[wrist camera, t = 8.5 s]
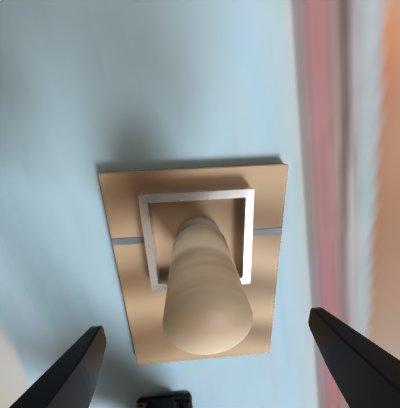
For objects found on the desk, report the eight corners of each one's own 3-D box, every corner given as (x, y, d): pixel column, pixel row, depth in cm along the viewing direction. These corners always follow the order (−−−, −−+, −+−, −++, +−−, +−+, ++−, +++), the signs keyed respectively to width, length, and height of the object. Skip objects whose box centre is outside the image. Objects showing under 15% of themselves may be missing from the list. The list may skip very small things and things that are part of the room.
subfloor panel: (266, 345, 22) (269, 352, 21) (139, 356, 21) (137, 365, 21) (283, 163, 16) (288, 164, 15) (102, 172, 15) (97, 174, 14)
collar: (245, 274, 18) (249, 283, 17) (154, 280, 17) (151, 290, 16) (249, 185, 15) (254, 188, 14) (141, 191, 15) (137, 195, 14)
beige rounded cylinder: (222, 255, 17) (251, 350, 9) (176, 258, 17) (167, 358, 9) (222, 212, 16) (255, 282, 8) (172, 215, 16) (157, 289, 8)
